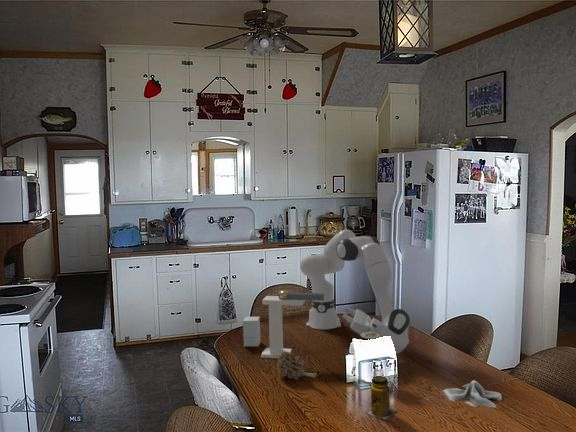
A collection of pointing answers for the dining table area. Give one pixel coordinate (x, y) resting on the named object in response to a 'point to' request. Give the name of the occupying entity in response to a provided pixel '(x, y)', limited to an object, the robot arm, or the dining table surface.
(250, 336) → the supplement box
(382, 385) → the condiment
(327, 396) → the dining table surface
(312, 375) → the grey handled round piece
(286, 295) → the link bar
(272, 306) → the stand
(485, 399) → the cloth
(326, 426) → the dining table surface
